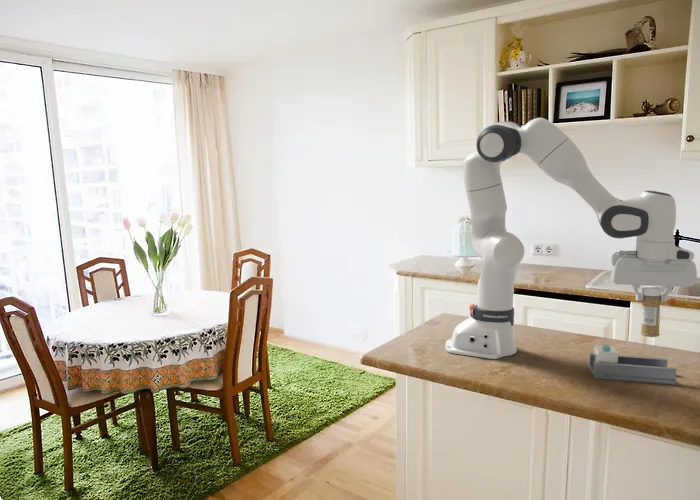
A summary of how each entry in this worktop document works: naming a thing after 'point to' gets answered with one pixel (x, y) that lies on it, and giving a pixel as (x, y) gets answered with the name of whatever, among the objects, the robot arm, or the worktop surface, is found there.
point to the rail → (629, 367)
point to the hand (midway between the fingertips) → (650, 301)
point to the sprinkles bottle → (650, 311)
